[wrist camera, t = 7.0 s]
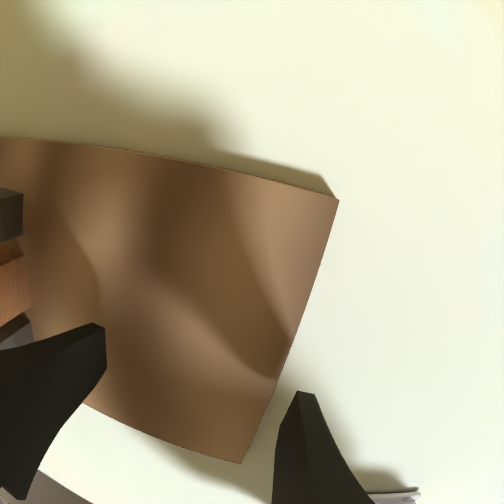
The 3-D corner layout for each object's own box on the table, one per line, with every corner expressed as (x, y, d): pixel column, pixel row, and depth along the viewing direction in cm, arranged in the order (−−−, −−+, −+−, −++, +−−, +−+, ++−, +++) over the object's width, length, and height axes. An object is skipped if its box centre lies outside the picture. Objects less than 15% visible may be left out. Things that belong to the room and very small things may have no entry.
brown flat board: (336, 197, 9) (360, 216, 6) (243, 453, 14) (230, 507, 10) (-40, 136, 11) (-79, 140, 7) (-31, 310, 15) (-60, 328, 12)
